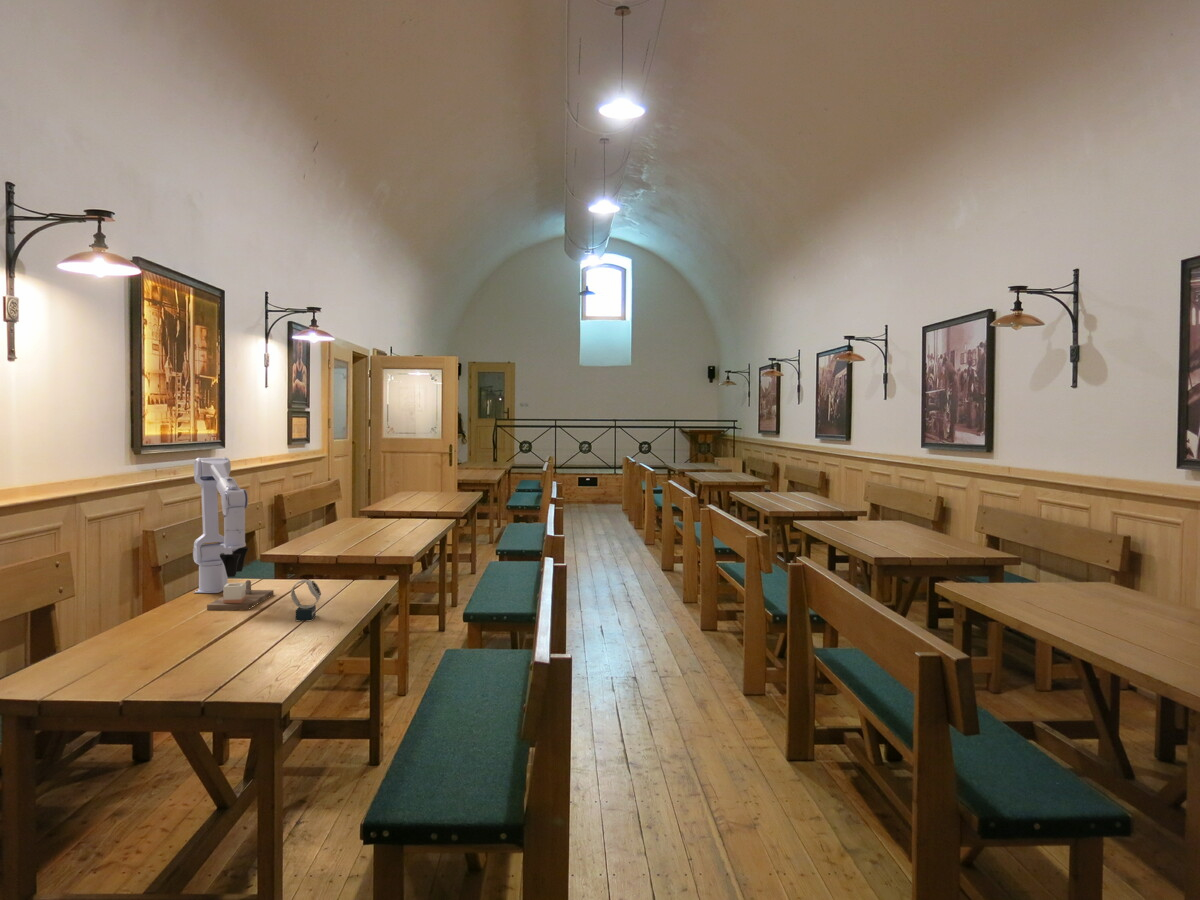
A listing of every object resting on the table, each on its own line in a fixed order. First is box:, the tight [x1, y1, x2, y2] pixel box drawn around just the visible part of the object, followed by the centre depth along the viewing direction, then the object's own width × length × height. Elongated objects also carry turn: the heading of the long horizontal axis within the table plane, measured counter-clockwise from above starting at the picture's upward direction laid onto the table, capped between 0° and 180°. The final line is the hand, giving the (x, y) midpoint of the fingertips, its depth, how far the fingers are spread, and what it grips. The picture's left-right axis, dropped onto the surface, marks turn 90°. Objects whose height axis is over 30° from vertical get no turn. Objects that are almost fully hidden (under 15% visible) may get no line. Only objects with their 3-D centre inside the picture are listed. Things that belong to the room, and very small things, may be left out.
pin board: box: [206, 579, 274, 611], centre depth 240 cm, size 20×12×6 cm, turn 3°
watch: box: [290, 579, 322, 622], centre depth 222 cm, size 6×8×11 cm
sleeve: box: [222, 582, 246, 603], centre depth 235 cm, size 5×5×5 cm
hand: (234, 574), depth 235 cm, fingers open, 7 cm apart
